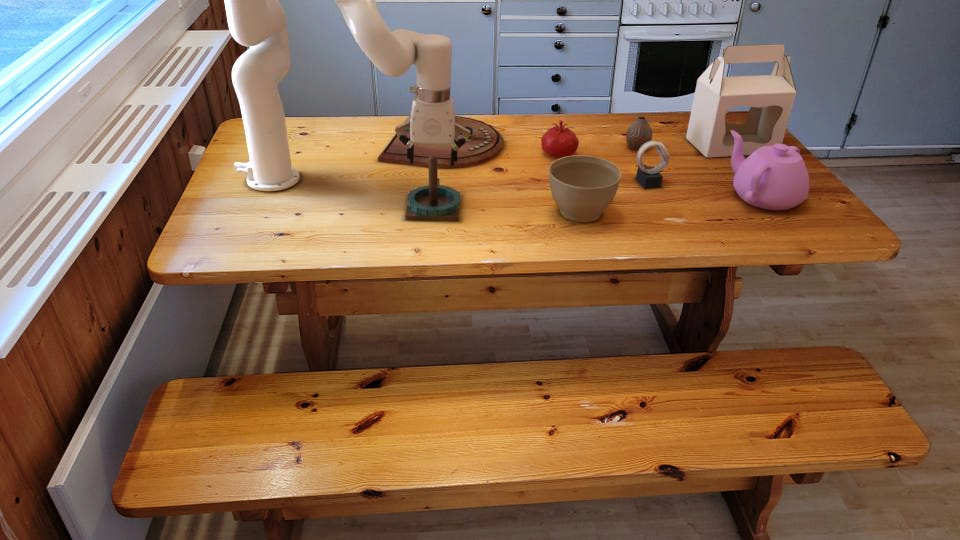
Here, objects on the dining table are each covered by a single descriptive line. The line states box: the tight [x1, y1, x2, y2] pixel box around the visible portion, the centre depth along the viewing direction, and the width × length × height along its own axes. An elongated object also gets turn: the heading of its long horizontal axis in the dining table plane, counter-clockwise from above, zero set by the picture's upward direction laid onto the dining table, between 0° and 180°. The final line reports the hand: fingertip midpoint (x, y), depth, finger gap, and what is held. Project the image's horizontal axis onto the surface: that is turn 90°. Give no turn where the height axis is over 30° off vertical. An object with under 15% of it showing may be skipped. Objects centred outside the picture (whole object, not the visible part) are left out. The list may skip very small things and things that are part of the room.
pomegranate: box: [540, 119, 580, 159], centre depth 189 cm, size 10×10×9 cm
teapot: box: [730, 130, 810, 211], centre depth 171 cm, size 22×22×14 cm
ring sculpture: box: [635, 140, 671, 190], centre depth 175 cm, size 6×8×11 cm
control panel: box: [377, 113, 504, 170], centre depth 194 cm, size 31×5×30 cm
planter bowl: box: [548, 154, 622, 223], centre depth 162 cm, size 16×16×11 cm
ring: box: [406, 177, 462, 216], centre depth 166 cm, size 12×16×2 cm
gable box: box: [685, 43, 797, 159], centre depth 191 cm, size 22×13×28 cm, turn 101°
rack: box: [404, 155, 461, 222], centre depth 162 cm, size 12×12×13 cm
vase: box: [625, 115, 653, 152], centre depth 193 cm, size 7×7×9 cm
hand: (432, 162), depth 168 cm, fingers open, 9 cm apart
